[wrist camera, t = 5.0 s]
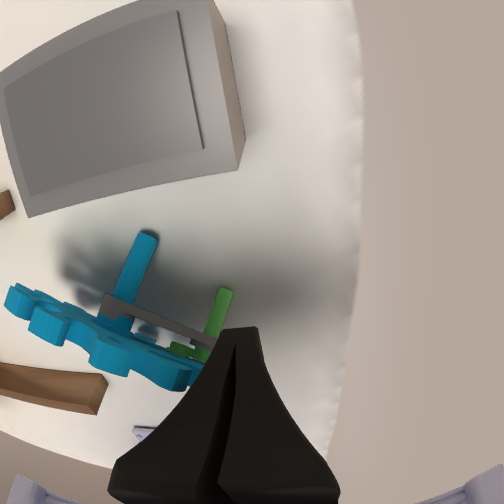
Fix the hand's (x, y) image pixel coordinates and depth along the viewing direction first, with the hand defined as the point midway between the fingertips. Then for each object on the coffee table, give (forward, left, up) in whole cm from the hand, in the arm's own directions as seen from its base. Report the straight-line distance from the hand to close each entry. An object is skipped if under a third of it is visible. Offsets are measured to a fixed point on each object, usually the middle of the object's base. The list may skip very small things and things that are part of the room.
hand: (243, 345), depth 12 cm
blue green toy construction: (0, +5, -4) cm, 7 cm away
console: (+10, +2, -4) cm, 11 cm away
